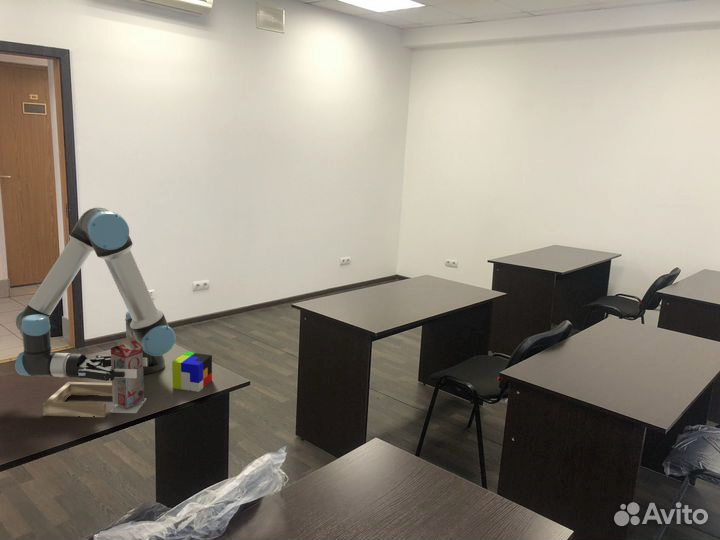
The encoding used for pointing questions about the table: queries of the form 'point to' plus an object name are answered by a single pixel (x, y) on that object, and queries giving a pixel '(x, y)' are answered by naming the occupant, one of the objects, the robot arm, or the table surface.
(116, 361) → the juice carton
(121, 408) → the mat
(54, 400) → the open wooden frame
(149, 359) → the robot arm
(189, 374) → the puzzle toy
